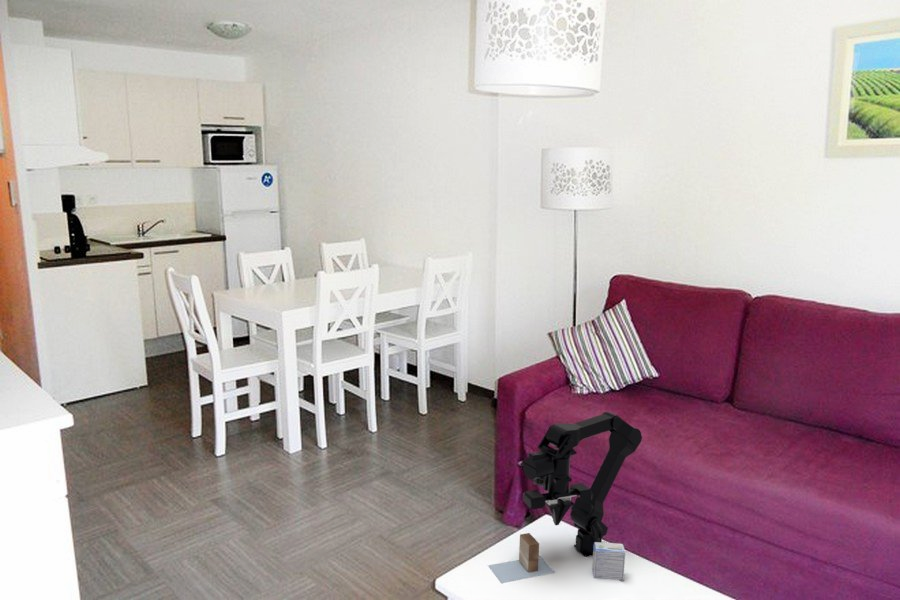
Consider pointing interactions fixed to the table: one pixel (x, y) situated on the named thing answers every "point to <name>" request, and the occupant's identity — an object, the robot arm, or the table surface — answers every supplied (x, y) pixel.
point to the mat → (518, 570)
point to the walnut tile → (529, 552)
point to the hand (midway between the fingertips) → (556, 524)
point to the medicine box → (608, 561)
